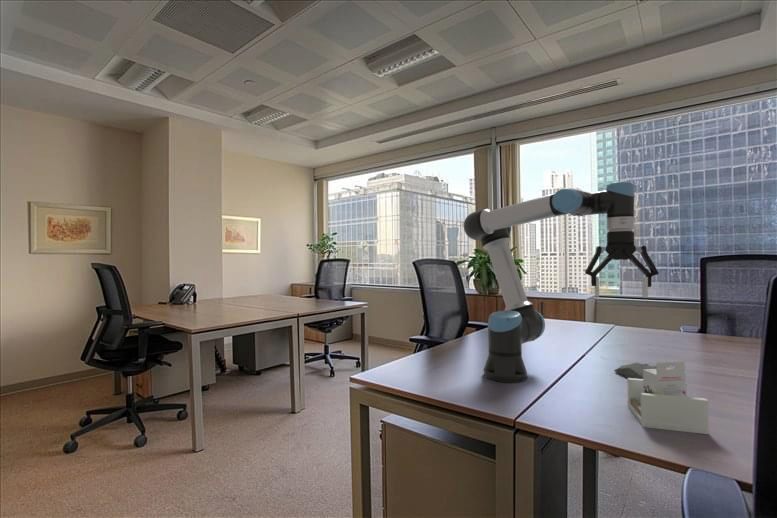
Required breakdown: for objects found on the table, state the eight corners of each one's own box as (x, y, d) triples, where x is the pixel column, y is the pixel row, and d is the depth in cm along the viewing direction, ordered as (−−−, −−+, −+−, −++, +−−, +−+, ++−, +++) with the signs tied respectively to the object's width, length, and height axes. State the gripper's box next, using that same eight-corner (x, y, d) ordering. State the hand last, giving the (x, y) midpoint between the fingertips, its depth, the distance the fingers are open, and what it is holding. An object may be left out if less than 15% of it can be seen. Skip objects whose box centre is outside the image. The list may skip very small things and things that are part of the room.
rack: (643, 427, 99) (643, 395, 99) (627, 404, 113) (627, 377, 113) (709, 434, 95) (709, 401, 94) (683, 410, 109) (683, 381, 109)
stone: (608, 364, 146) (643, 357, 148) (611, 377, 145) (645, 370, 148) (648, 373, 127) (687, 366, 130) (651, 388, 127) (689, 381, 130)
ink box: (670, 409, 107) (670, 356, 107) (686, 416, 102) (686, 361, 102) (642, 410, 106) (642, 357, 106) (656, 418, 101) (656, 363, 101)
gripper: (579, 231, 123) (579, 297, 124) (670, 229, 116) (670, 299, 116) (575, 232, 131) (576, 294, 131) (661, 230, 123) (661, 296, 123)
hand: (620, 297), depth 123 cm, fingers open, 13 cm apart
